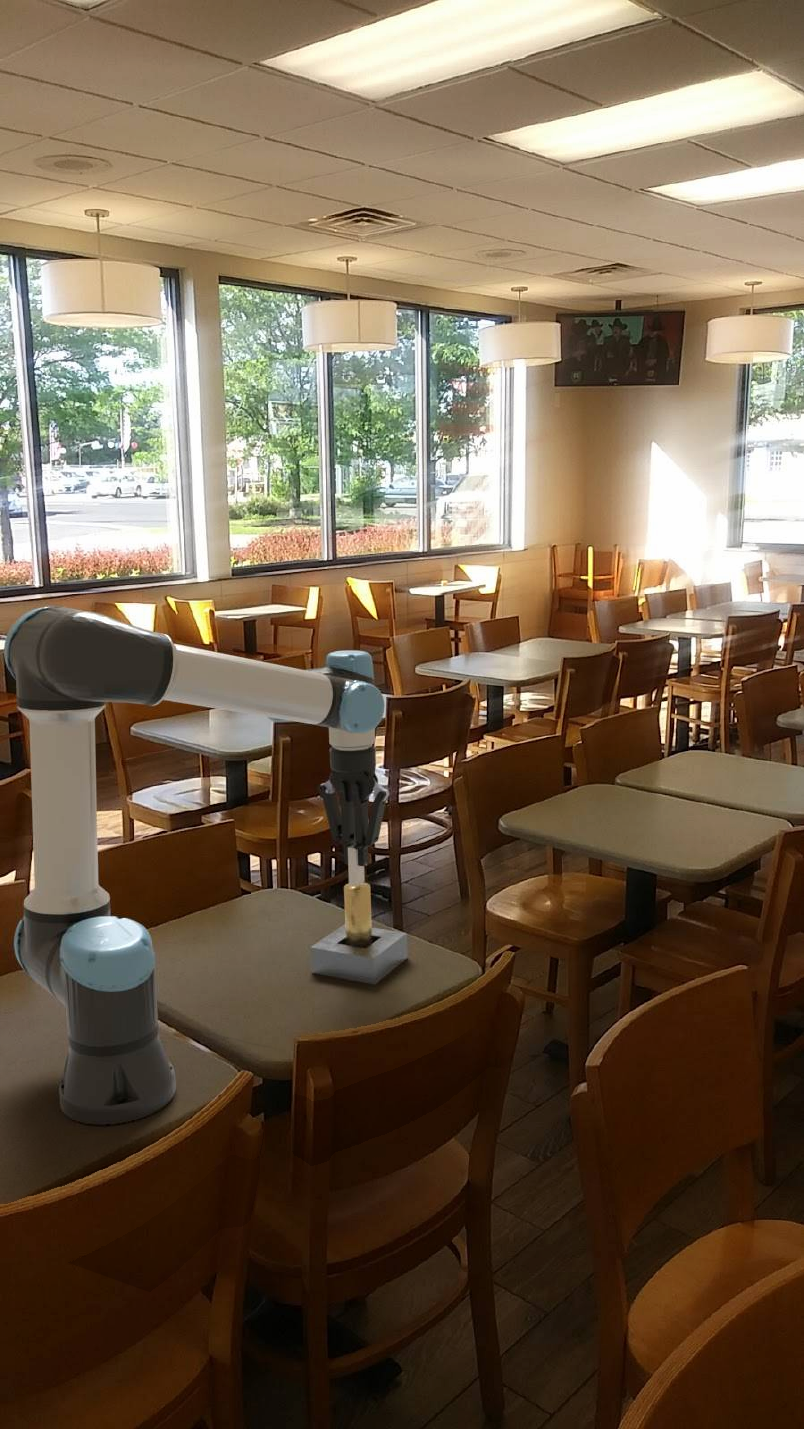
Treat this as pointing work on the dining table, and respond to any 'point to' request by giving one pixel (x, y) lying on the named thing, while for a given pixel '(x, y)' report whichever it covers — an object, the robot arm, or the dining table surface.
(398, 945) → the block
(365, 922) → the brass cylinder rod
